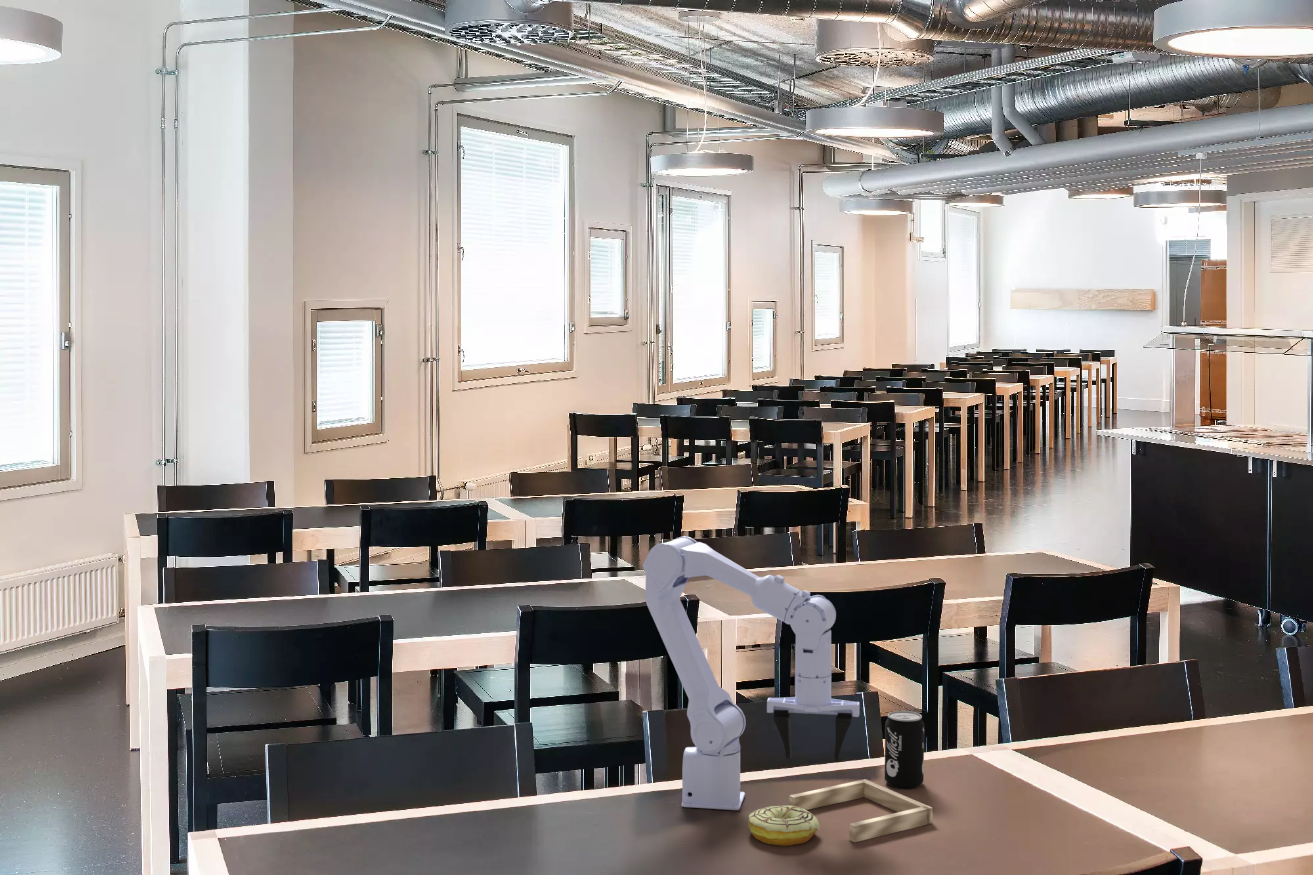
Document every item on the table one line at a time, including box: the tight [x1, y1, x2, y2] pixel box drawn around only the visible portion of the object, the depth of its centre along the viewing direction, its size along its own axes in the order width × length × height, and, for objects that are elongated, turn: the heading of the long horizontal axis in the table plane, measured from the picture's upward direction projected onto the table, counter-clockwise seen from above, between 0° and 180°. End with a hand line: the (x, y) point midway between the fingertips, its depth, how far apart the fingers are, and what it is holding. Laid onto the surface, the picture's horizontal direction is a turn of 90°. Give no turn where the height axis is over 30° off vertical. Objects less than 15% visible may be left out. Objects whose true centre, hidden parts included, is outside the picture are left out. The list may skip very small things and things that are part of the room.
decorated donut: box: [747, 804, 820, 847], centre depth 210 cm, size 10×11×4 cm
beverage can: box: [884, 710, 925, 790], centre depth 234 cm, size 7×7×12 cm
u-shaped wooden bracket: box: [788, 778, 934, 843], centre depth 218 cm, size 16×16×2 cm
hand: (812, 758), depth 218 cm, fingers open, 7 cm apart
